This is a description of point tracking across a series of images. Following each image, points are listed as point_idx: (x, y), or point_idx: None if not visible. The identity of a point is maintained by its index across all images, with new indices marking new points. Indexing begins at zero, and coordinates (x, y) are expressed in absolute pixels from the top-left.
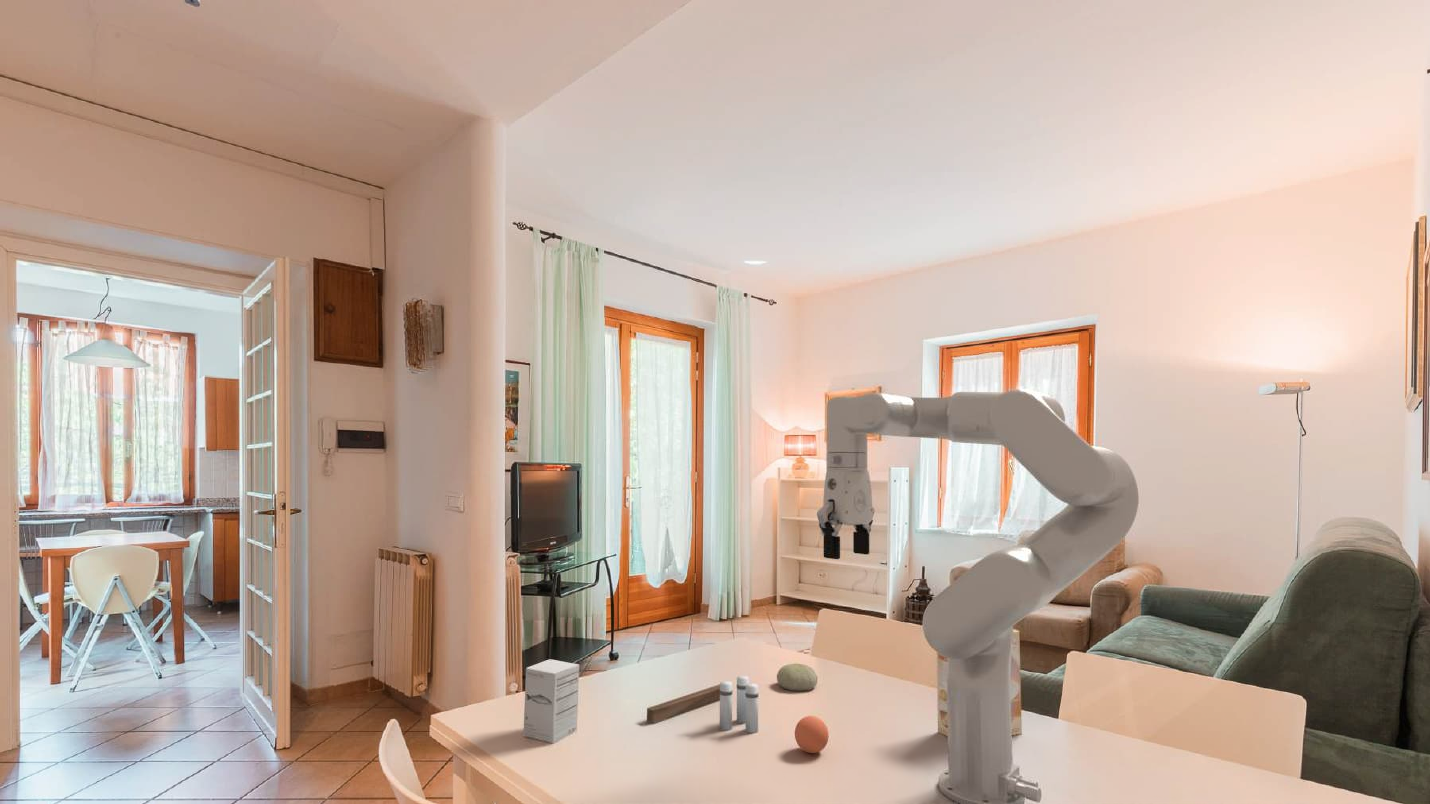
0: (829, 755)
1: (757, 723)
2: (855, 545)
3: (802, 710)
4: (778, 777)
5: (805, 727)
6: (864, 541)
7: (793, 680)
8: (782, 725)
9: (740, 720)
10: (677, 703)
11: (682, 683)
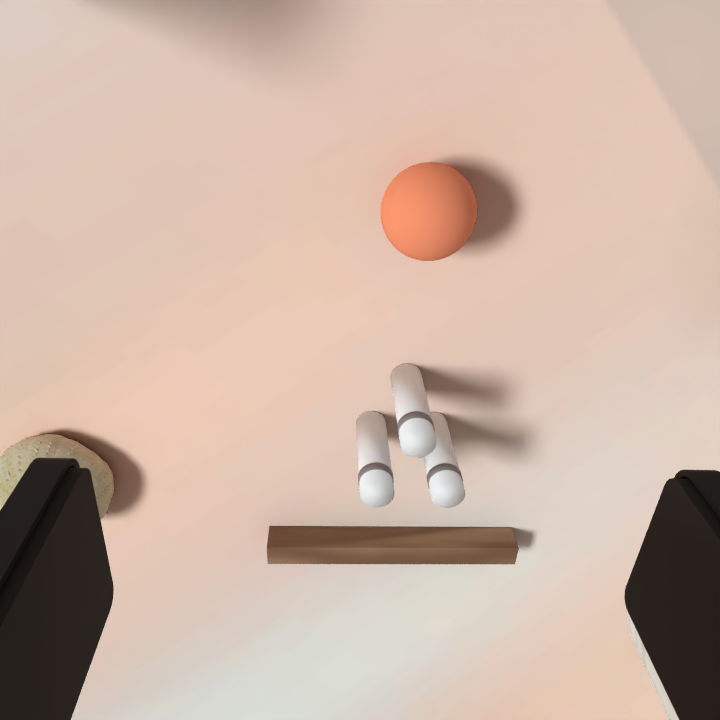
0: (411, 150)
1: (404, 374)
2: (82, 648)
3: (198, 368)
4: (606, 174)
5: (470, 217)
6: (30, 612)
7: (97, 475)
8: (324, 346)
9: (385, 423)
10: (445, 546)
11: (277, 628)
